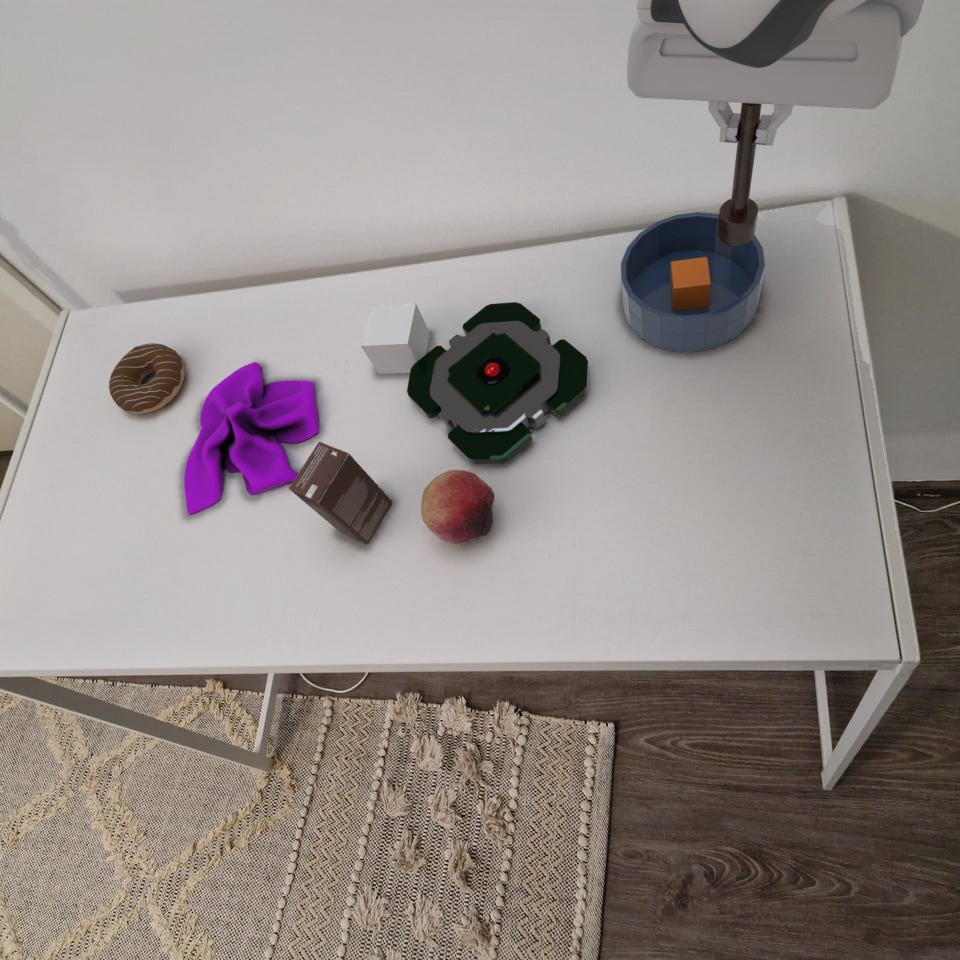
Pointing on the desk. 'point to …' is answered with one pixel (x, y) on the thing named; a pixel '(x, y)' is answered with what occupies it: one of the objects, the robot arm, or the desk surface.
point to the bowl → (650, 283)
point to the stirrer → (741, 184)
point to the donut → (136, 368)
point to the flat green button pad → (498, 382)
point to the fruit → (458, 506)
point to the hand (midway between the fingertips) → (747, 139)
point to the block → (690, 284)
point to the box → (341, 492)
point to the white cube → (395, 337)
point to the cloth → (248, 434)
